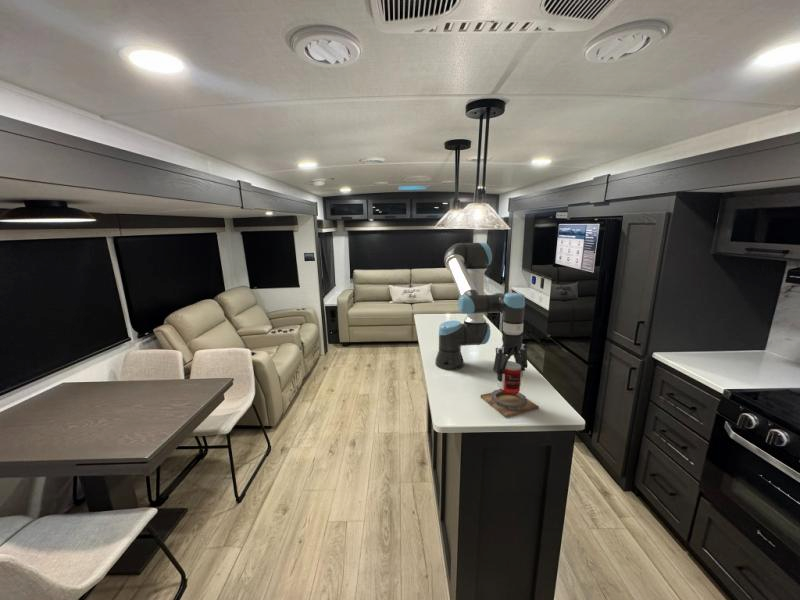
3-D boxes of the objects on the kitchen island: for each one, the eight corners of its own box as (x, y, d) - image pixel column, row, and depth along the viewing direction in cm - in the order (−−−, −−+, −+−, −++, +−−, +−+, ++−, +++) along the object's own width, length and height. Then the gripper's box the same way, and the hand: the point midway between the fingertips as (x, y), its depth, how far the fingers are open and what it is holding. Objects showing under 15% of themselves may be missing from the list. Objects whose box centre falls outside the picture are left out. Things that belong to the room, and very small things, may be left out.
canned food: (505, 383, 128) (507, 359, 126) (523, 390, 122) (525, 365, 120) (495, 389, 123) (496, 364, 121) (513, 396, 117) (514, 370, 115)
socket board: (480, 397, 128) (480, 391, 128) (511, 390, 134) (511, 385, 133) (505, 417, 114) (505, 411, 113) (538, 409, 119) (539, 402, 118)
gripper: (496, 338, 111) (494, 395, 115) (540, 332, 118) (536, 385, 122) (484, 332, 118) (482, 386, 122) (526, 327, 125) (523, 378, 129)
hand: (509, 386), depth 122 cm, fingers closed on canned food, 8 cm apart
